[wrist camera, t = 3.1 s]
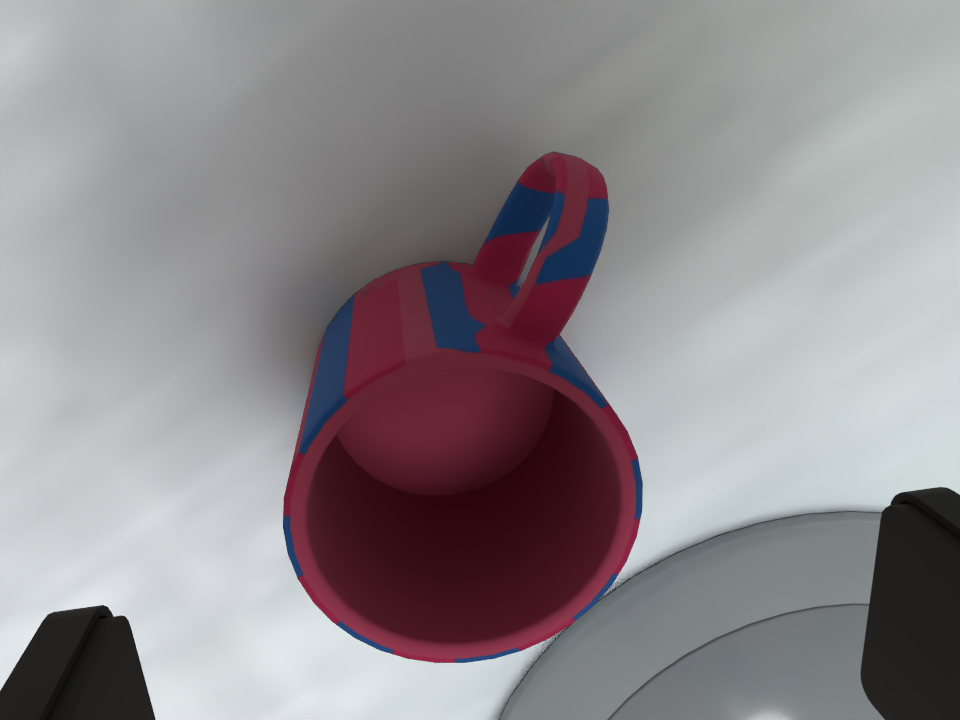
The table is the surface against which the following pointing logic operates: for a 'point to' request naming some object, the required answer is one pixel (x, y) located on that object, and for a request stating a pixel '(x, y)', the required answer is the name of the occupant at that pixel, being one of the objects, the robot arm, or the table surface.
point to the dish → (723, 633)
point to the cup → (466, 444)
